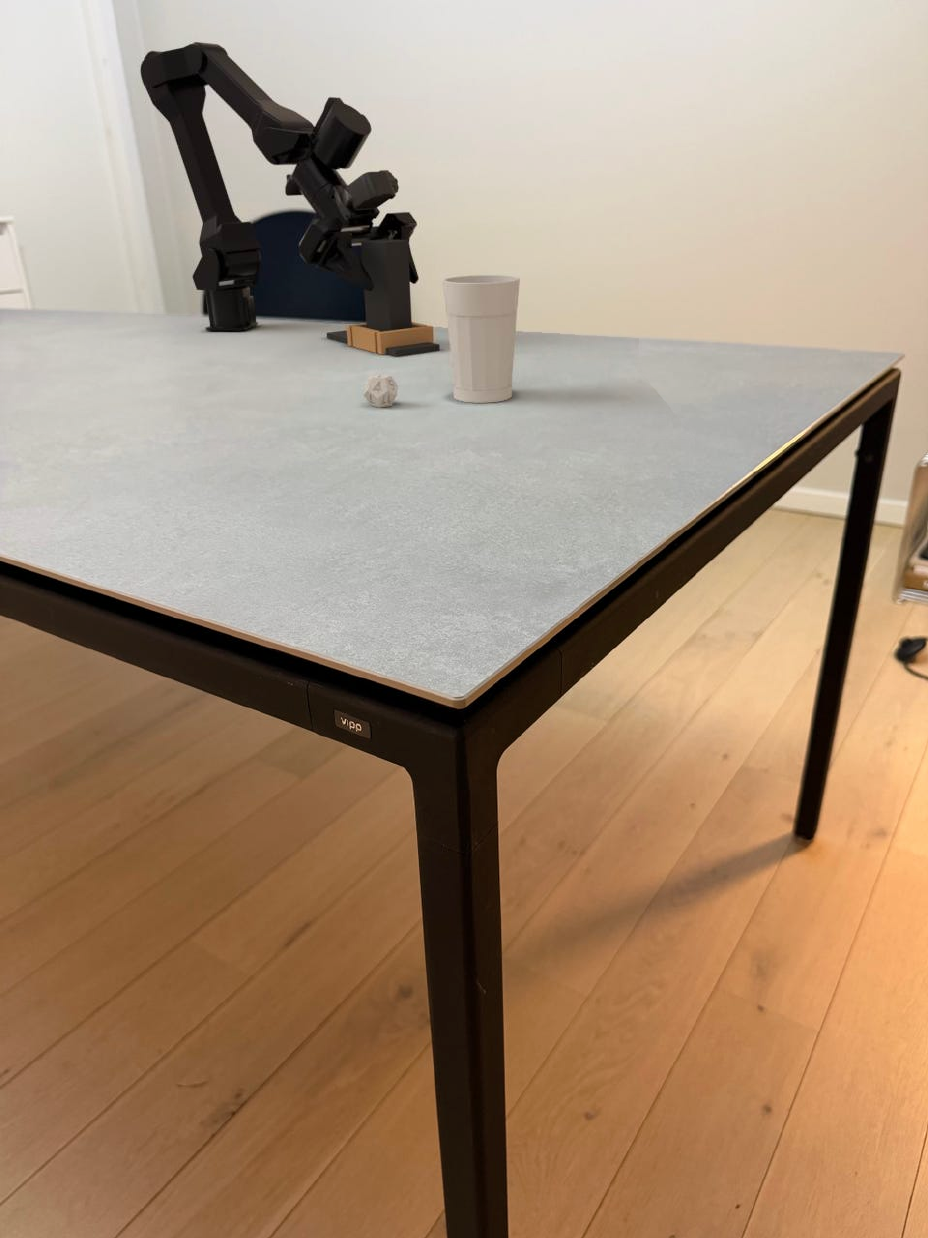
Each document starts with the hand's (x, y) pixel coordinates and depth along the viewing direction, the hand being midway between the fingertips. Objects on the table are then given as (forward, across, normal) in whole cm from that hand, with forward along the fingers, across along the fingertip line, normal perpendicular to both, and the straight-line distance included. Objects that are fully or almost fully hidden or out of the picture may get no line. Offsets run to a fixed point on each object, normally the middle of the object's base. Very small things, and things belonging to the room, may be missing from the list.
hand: (394, 284), depth 125 cm
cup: (+26, -19, -14) cm, 35 cm away
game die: (+21, -28, -9) cm, 36 cm away
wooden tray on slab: (+3, +1, +9) cm, 9 cm away
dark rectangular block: (+4, 0, +6) cm, 8 cm away
